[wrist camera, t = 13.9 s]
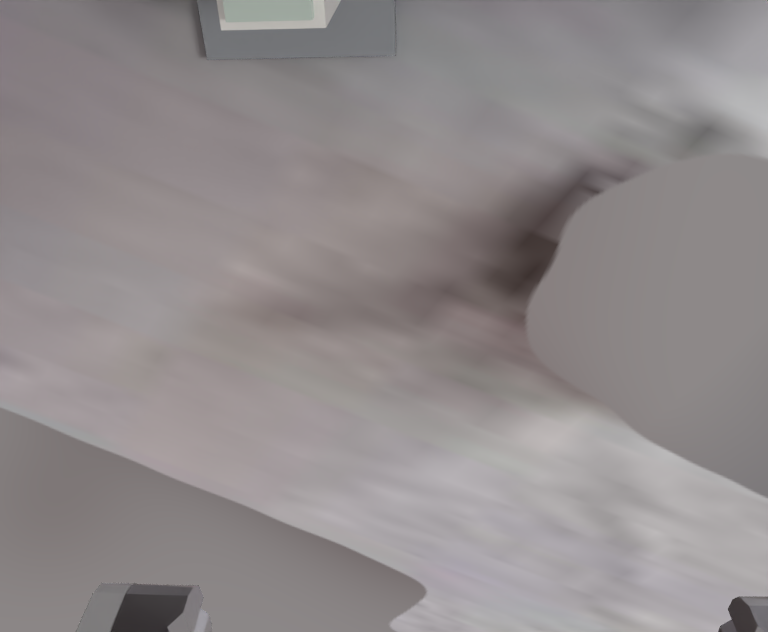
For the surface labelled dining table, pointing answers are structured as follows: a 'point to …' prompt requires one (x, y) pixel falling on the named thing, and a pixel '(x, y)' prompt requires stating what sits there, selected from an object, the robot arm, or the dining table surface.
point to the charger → (275, 14)
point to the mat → (306, 34)
